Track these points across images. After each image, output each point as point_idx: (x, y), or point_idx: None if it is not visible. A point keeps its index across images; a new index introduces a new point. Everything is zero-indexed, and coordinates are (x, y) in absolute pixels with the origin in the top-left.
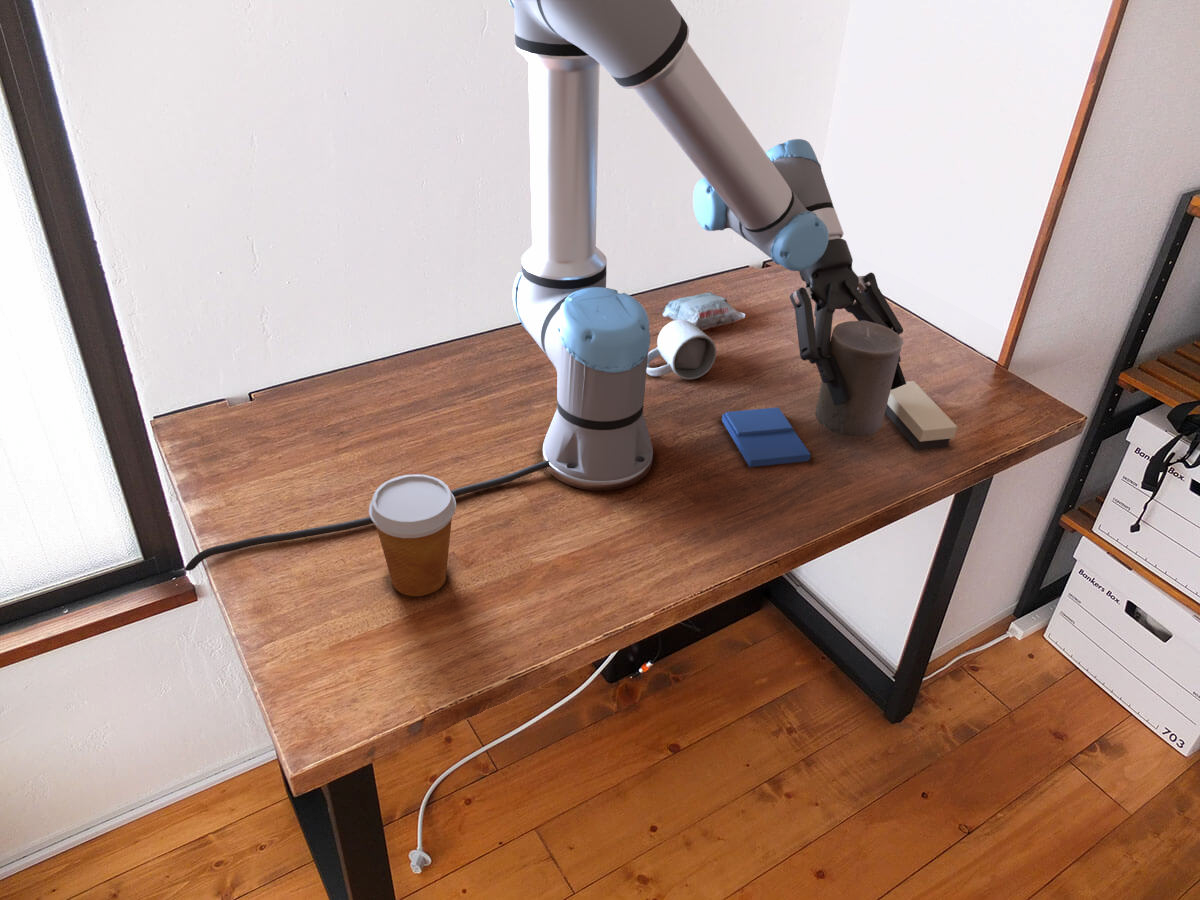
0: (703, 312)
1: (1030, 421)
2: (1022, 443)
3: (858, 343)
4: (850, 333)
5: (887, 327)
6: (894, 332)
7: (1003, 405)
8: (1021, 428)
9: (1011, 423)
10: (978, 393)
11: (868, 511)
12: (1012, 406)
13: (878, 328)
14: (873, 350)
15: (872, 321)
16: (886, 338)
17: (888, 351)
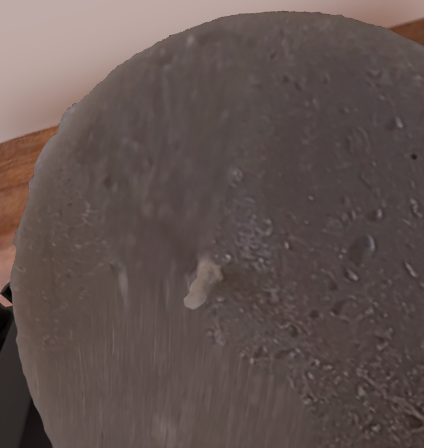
0: None
1: (11, 166)
2: (54, 127)
3: (382, 199)
4: (334, 385)
5: (7, 347)
6: (22, 243)
7: (10, 211)
8: (31, 157)
9: (32, 171)
10: (13, 250)
11: (401, 29)
12: (3, 204)
13: (65, 329)
14: (333, 50)
15: (32, 433)
16: (114, 184)
17: (224, 20)
